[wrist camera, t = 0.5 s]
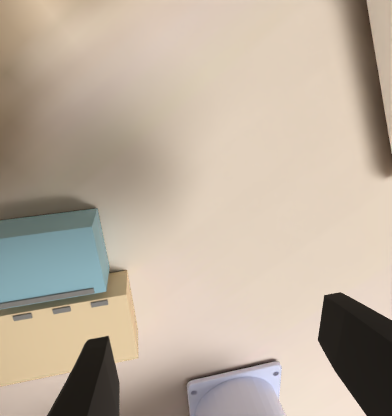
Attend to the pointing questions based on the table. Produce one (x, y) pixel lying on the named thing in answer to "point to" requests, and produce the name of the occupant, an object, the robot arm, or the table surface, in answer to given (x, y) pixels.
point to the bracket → (383, 51)
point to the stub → (51, 258)
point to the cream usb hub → (66, 331)
